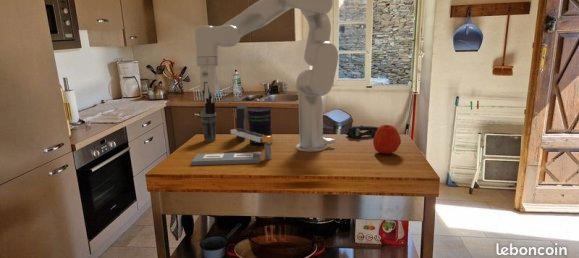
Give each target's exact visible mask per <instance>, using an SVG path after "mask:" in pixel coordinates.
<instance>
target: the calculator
mask: <svg viewBox="0 0 579 258" xmlns="http://www.w3.org/2000/svg"><path fill="white" fill-rule="evenodd" d="M247 115H248V105H247V104H240V105H238V106H237V107H235V129H238V128H240V129H243V130H247V131H248V129H247ZM235 136H236V142H245V140H246V139H247V138H244V137H240V136H237V135H235Z"/></svg>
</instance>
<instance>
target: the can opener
mask: <svg viewBox="0 0 579 258" xmlns="http://www.w3.org/2000/svg"><path fill="white" fill-rule="evenodd" d="M379 127H380V126H372V125H371V126H369V125H366V126H365V125H362V124H361V125H358V126H357V125H356V126H355V125H354V126H349V128H348V129H347V132H346V133H345V135H346V136H348V137H351V138H354V139H359V138H362V137H364V136H370V137H374V136H375V133H376V131H377V129H378V128H379ZM362 131H364V132H362ZM374 131H375V132H374Z"/></svg>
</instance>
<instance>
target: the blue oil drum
mask: <svg viewBox="0 0 579 258" xmlns="http://www.w3.org/2000/svg"><path fill="white" fill-rule="evenodd" d="M247 119H248V122H247V123H248V124H249V125H248V126H249V127H248V128H249V131H250V132H254V133H258V134H261V135H265V136H266V135H270V136H272V137H273V133H272V132H273V131H272V109H271V108H269V107H254V108H249V109H247ZM249 145H250V146H252V147H255V146H256V147H255V148H257V147H259V148H262V146H264V143H263V142H257V141H253V140H250V139H249ZM271 145H273V142H272V143H271Z"/></svg>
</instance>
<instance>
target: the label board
mask: <svg viewBox="0 0 579 258" xmlns="http://www.w3.org/2000/svg"><path fill="white" fill-rule="evenodd" d="M261 157H262V152H261V151H246V152H241V151H240V152H218V153H215V152H213V153H197V154H196V155H195V156H194V157H193V159H192V160H191V166H209V165H210V166H213V165H214V166H215V165H240V164H241V165H243V164H244V165H245V164H247V165H248V164H260V162H261ZM264 160H266V161H271V160H272V144H271V143H270V144H264Z"/></svg>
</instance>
